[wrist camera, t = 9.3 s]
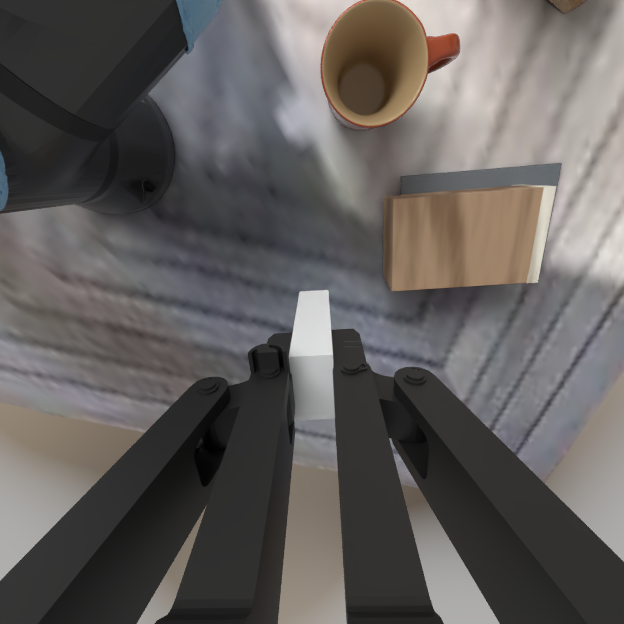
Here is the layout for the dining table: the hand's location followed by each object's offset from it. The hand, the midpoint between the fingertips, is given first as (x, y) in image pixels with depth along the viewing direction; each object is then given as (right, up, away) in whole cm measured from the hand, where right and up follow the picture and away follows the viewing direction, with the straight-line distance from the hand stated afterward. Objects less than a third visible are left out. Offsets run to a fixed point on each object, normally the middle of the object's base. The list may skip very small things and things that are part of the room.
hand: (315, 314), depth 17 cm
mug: (+7, +24, +19) cm, 32 cm away
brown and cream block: (+9, +8, +21) cm, 24 cm away
